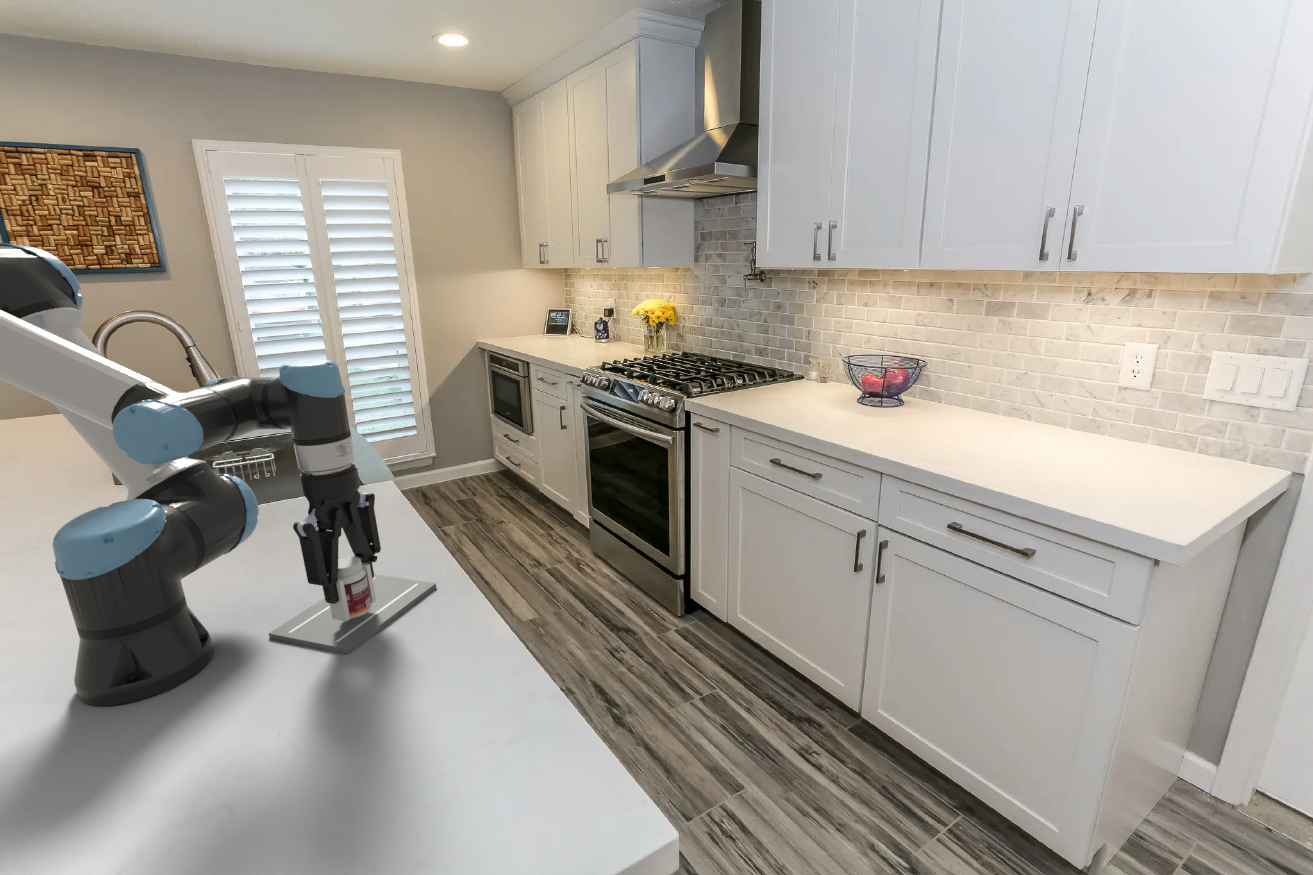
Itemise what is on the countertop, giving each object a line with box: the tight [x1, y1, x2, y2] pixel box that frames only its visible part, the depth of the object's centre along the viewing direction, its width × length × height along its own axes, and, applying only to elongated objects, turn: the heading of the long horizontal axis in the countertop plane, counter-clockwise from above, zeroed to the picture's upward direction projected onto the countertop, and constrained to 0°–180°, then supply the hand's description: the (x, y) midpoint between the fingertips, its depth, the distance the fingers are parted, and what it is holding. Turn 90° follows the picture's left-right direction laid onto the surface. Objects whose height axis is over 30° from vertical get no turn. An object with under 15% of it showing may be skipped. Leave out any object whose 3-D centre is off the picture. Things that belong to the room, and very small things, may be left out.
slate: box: [268, 573, 437, 655], centre depth 103 cm, size 20×15×1 cm
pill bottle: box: [338, 556, 371, 618], centre depth 98 cm, size 5×5×8 cm
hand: (354, 609), depth 99 cm, fingers closed on pill bottle, 5 cm apart
